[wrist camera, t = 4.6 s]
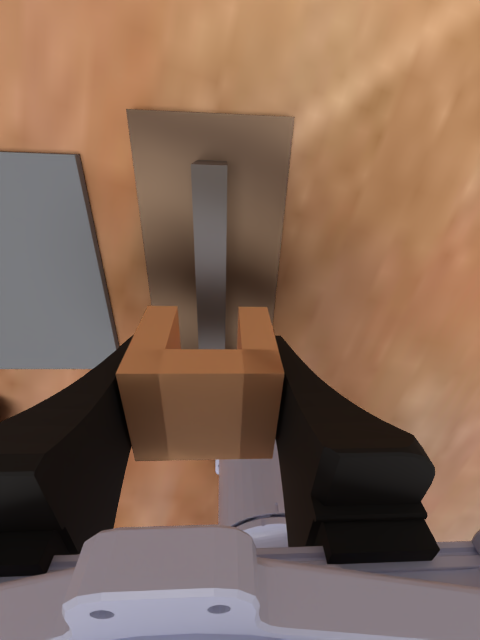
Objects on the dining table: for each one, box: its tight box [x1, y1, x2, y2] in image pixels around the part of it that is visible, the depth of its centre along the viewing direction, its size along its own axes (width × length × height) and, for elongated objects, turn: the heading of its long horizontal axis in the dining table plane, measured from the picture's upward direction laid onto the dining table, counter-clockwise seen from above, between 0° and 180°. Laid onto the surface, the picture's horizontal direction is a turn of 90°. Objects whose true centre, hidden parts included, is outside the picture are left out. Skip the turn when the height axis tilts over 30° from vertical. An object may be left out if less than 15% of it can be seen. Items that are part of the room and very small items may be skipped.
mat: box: [0, 152, 119, 369], centre depth 19 cm, size 14×12×1 cm
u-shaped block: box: [116, 306, 285, 461], centre depth 12 cm, size 4×5×4 cm
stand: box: [126, 109, 294, 349], centre depth 18 cm, size 18×8×4 cm, turn 178°
